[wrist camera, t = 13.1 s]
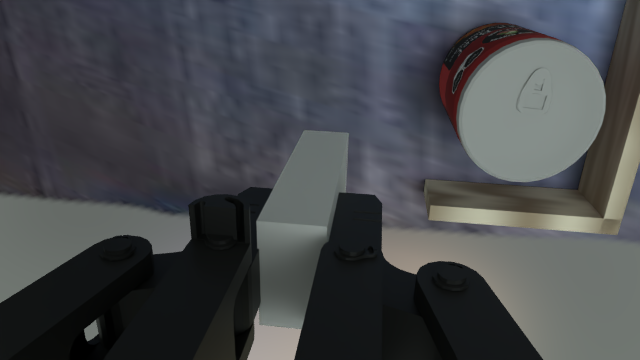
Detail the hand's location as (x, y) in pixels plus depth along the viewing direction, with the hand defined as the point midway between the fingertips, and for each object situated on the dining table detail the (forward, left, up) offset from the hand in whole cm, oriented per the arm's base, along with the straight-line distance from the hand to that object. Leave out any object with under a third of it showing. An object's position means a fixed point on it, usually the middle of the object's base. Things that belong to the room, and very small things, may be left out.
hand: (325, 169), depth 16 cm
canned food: (+10, -1, -23) cm, 25 cm away
